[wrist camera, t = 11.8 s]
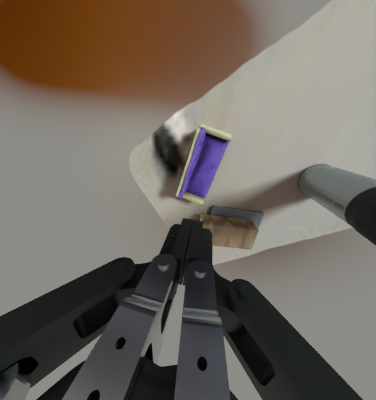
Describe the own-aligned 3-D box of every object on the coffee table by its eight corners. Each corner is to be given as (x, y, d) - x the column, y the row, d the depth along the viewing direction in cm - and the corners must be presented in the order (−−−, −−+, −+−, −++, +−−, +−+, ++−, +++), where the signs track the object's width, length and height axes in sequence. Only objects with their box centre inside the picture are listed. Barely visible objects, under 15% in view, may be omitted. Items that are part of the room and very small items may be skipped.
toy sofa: (204, 197, 50) (202, 212, 41) (180, 188, 50) (173, 201, 41) (230, 134, 41) (235, 135, 32) (201, 123, 41) (198, 122, 32)
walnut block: (200, 213, 51) (251, 219, 50) (197, 232, 54) (245, 237, 54) (200, 224, 45) (258, 230, 45) (197, 243, 49) (251, 249, 49)
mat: (262, 212, 49) (264, 215, 48) (251, 243, 55) (252, 247, 54) (212, 205, 51) (212, 207, 49) (206, 236, 57) (206, 239, 56)
